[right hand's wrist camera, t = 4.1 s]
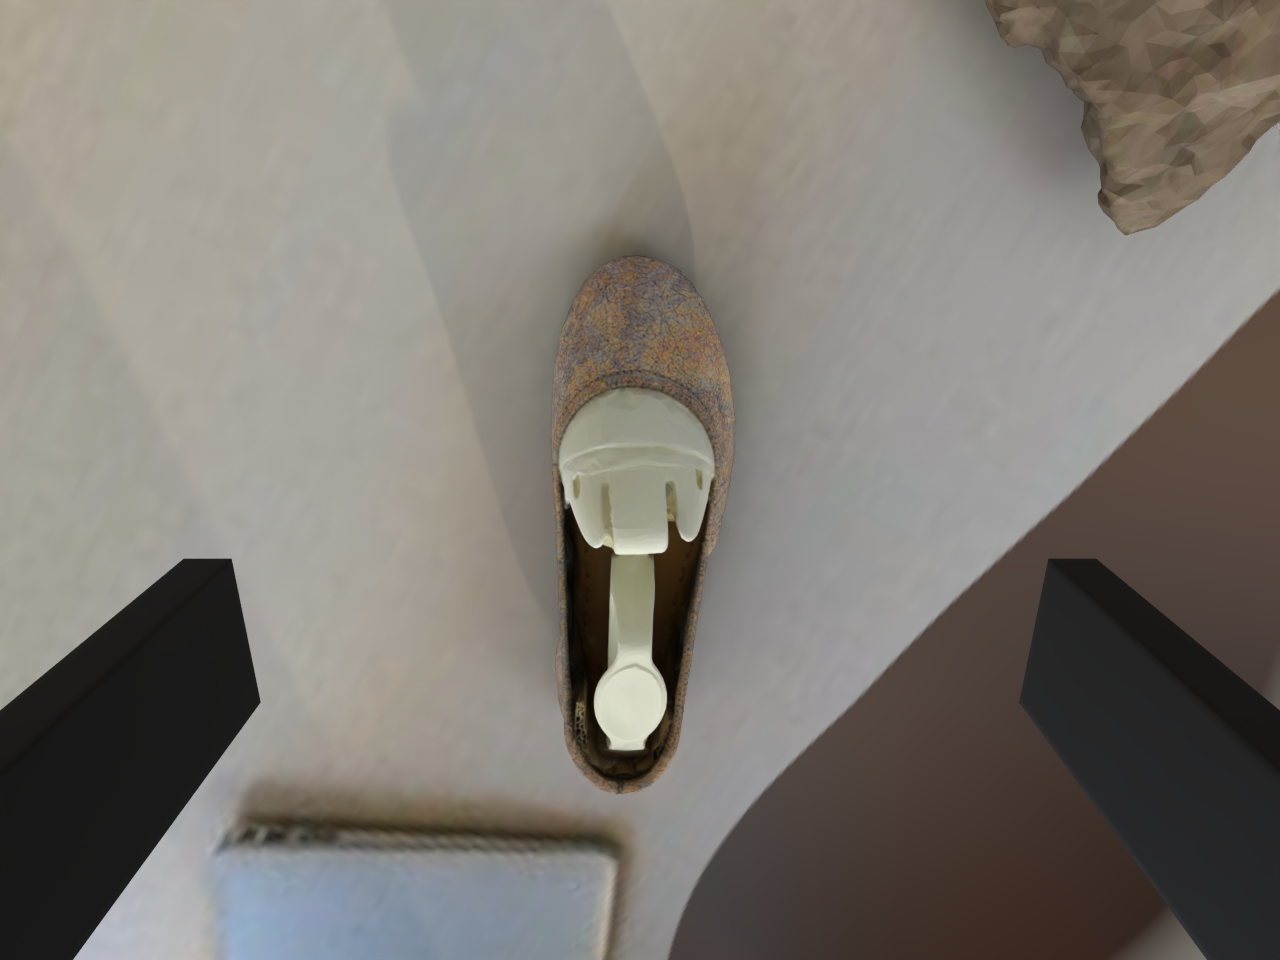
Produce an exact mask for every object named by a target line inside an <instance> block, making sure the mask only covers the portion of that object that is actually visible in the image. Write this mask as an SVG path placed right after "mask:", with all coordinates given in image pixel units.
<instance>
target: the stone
mask: <svg viewBox="0 0 1280 960" xmlns="http://www.w3.org/2000/svg"><path fill="white" fill-rule="evenodd" d="M986 4H987V7H988V9H989V11H990V13H991V15H992V17H993V19H994V21H995V23H996V25H997V28H998V31H999V34H1000V36H1001V38H1002V39H1004V40H1005V41H1006V43H1007V44H1008V45H1009V46H1012V47H1018V46H1022V45H1026V44H1029V45H1032V46H1034V47H1037V48H1040V49H1042V52H1043V55H1044V58H1045V61H1046V63H1048V64H1049V65H1050V66H1052V67H1053V68H1054V69H1055V70H1057V71H1058V72H1059V73H1060V74H1061V76H1062V78H1063V80H1064V82H1065V84H1066V86H1067V87H1068V88H1071V89H1073V93H1074V94H1075V95H1076V96H1077V97H1078V98H1079V99H1081V100H1082V101H1084V102H1085V104H1084V119H1083V122H1082V126H1081V129H1082V132H1083V135H1084V138H1085V141H1086V143H1087V146H1088V149H1089V150H1090V152H1091V153H1092V154H1093V156H1094V157H1095V158H1096V160H1097V161H1098V163H1099V165H1100V168H1101V169H1100V179H1101V187H1102V188H1101V190H1100V191H1099V193H1098V204H1099V205H1100V207H1101V209H1102V210H1103V212H1104V213H1105V214H1106V215H1107V216H1108V217H1110V218H1111V219H1112V220H1113V221H1114V222H1115V224H1116V226H1117V228H1118V229H1119V230H1120V231H1121V232H1122V233H1123V234H1125V235H1129V234H1132V233H1135V232H1138V231H1142V230H1146V229H1150V228H1154V227H1156V226H1158V225H1159V224H1161V223H1162V222H1164V221H1165V220H1167V219H1168V218H1170V217H1171V216H1173V215H1174V214H1176V213H1177V212H1179V211H1180V210H1181V209H1183V208H1184V207H1186V206H1188V205H1189V204H1191V203H1193V202H1195V201H1196V200H1198V199H1199V198H1200V197H1201V196H1202V195H1203V194H1204V193H1205V192H1206V191H1207V190H1208V189H1209V188H1210V187H1211V186H1212V185H1214V184H1215V183H1217V182H1218V181H1220V180H1221V179H1223V178H1224V177H1225V176H1226V175H1227V174H1228V173H1229V172H1230V171H1231V170H1232V169H1233V168H1234V167H1235V166H1236V165H1237V164H1238V163H1239V162H1240V161H1241V160H1242V159H1243V157H1244V156H1245V155H1246V154H1247V153H1248V152H1249V151H1250V150H1251V148H1252V147H1253V145H1254V144H1255V142H1256V140H1257V139H1259V138H1260V137H1261V136H1262V135H1263V134H1264V133H1265V132H1267V131H1268V130H1269V129H1270V128H1271V127H1273V126H1274V125H1276V124H1277V123H1279V122H1280V0H986Z"/></svg>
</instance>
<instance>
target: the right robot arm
mask: <svg viewBox="0 0 1280 960" xmlns="http://www.w3.org/2000/svg"><path fill="white" fill-rule="evenodd" d="M259 704H260V697H259V692H258V687H257V682H256V677H255V672H254V667H253V662H252V657H251V653H250V648H249V643H248V638H247V633H246V628H245V623H244V618H243V613H242V608H241V603H240V598H239V593H238V588H237V583H236V578H235V573H234V569H233V564H232V559H183V560H182V561H181V562H179V563H178V564H177V565H176V566H175V567H173V568H172V569H171V570H170V571H168V572H167V573H166V574H165V575H164V576H162V577H161V578H160V579H159V580H158V581H156V582H155V583H154V584H153V585H152V586H150V587H149V588H148V589H147V590H145V591H144V592H143V593H142V594H141V595H139V596H138V597H137V598H136V599H135V600H133V601H132V602H131V603H130V604H129V605H127V606H126V607H125V608H124V609H122V610H121V611H120V612H119V613H118V614H116V615H115V616H114V617H113V618H112V619H110V620H109V621H108V622H107V623H106V624H104V625H103V626H102V627H101V628H100V629H98V630H97V631H96V632H95V633H93V634H92V635H91V636H90V637H89V638H87V639H86V640H85V641H84V642H83V643H81V644H80V645H79V646H78V647H77V648H75V649H74V650H73V651H72V652H70V653H69V654H68V655H67V656H66V657H64V658H63V659H62V660H61V661H60V662H58V663H57V664H56V665H55V666H54V667H52V668H51V669H50V670H49V671H47V672H46V673H45V674H44V675H43V676H41V677H40V678H39V679H38V680H37V681H35V682H34V683H33V684H32V685H31V686H29V687H28V688H27V689H26V690H24V691H23V692H22V693H21V694H20V695H18V696H17V697H16V698H15V699H14V700H12V701H11V702H10V703H9V704H8V705H6V706H5V707H4V708H3V709H1V710H0V960H73V959H74V958H75V956H76V955H77V953H78V952H79V951H80V949H81V948H82V947H83V945H84V944H85V943H86V941H87V940H88V938H89V937H90V936H91V934H92V933H93V932H94V930H95V929H96V927H97V926H98V925H99V923H100V922H101V921H102V919H103V918H104V916H105V915H106V914H107V912H108V911H109V910H110V908H111V907H112V905H113V904H114V903H115V901H116V900H117V899H118V897H119V896H120V895H121V893H122V892H123V890H124V889H125V888H126V886H127V885H128V884H129V882H130V881H131V879H132V878H133V877H134V875H135V874H136V873H137V871H138V870H139V868H140V867H141V866H142V864H143V863H144V862H145V860H146V859H147V857H148V856H149V855H150V853H151V852H152V851H153V849H154V848H155V846H156V845H157V844H158V842H159V841H160V840H161V838H162V837H163V836H164V834H165V833H166V831H167V830H168V829H169V827H170V826H171V825H172V823H173V822H174V820H175V819H176V818H177V816H178V815H179V814H180V812H181V811H182V809H183V808H184V807H185V805H186V804H187V803H188V801H189V800H190V798H191V797H192V796H193V794H194V793H195V792H196V790H197V789H198V787H199V786H200V785H201V783H202V782H203V781H204V779H205V778H206V777H207V775H208V774H209V772H210V771H211V770H212V768H213V767H214V766H215V764H216V763H217V761H218V760H219V759H220V757H221V756H222V755H223V753H224V752H225V750H226V749H227V748H228V746H229V745H230V744H231V742H232V741H233V739H234V738H235V737H236V735H237V734H238V733H239V731H240V730H241V729H242V727H243V726H244V724H245V723H246V722H247V720H248V719H249V718H250V716H251V715H252V713H253V712H254V711H255V709H256V708H257V707H258V705H259ZM1020 704H1021V705H1022V707H1023V708H1024V709H1025V711H1026V712H1027V713H1028V715H1029V716H1030V717H1031V719H1032V720H1033V722H1034V723H1035V724H1036V726H1037V727H1038V729H1039V730H1040V731H1041V733H1042V734H1043V735H1044V737H1045V738H1046V739H1047V741H1048V742H1049V744H1050V745H1051V746H1052V748H1053V749H1054V750H1055V752H1056V753H1057V755H1058V756H1059V757H1060V759H1061V760H1062V761H1063V763H1064V764H1065V766H1066V767H1067V768H1068V770H1069V771H1070V772H1071V774H1072V775H1073V777H1074V778H1075V779H1076V781H1077V782H1078V783H1079V785H1080V786H1081V787H1082V789H1083V790H1084V792H1085V793H1086V794H1087V796H1088V797H1089V798H1090V800H1091V801H1092V803H1093V804H1094V805H1095V807H1096V808H1097V809H1098V811H1099V812H1100V814H1101V815H1102V816H1103V818H1104V819H1105V820H1106V822H1107V823H1108V825H1109V826H1110V827H1111V829H1112V830H1113V831H1114V833H1115V834H1116V835H1117V837H1118V838H1119V840H1120V841H1121V842H1122V844H1123V845H1124V846H1125V848H1126V849H1127V851H1128V852H1129V853H1130V855H1131V856H1132V857H1133V859H1134V860H1135V862H1136V863H1137V864H1138V866H1139V867H1140V868H1141V870H1142V871H1143V873H1144V874H1145V875H1146V877H1147V878H1148V879H1149V881H1150V882H1151V883H1152V885H1153V886H1154V888H1155V889H1156V890H1157V892H1158V893H1159V895H1160V896H1161V897H1162V899H1163V900H1164V901H1165V903H1166V904H1167V905H1168V907H1169V908H1170V910H1171V911H1172V912H1173V914H1174V915H1175V916H1176V918H1177V919H1178V921H1179V922H1180V923H1181V925H1182V926H1183V927H1184V929H1185V930H1186V931H1187V933H1188V934H1189V936H1190V937H1191V938H1192V940H1193V941H1194V942H1195V944H1196V945H1197V947H1198V948H1199V949H1200V951H1201V952H1202V953H1203V955H1204V956H1205V958H1206V959H1207V960H1280V710H1279V709H1277V708H1276V707H1275V706H1274V705H1272V704H1271V703H1270V702H1269V701H1268V700H1266V699H1265V698H1264V697H1263V696H1262V695H1260V694H1259V693H1258V692H1257V691H1256V690H1254V689H1253V688H1252V687H1251V686H1249V685H1248V684H1247V683H1246V682H1245V681H1243V680H1242V679H1241V678H1240V677H1239V676H1237V675H1236V674H1235V673H1234V672H1233V671H1231V670H1230V669H1229V668H1228V667H1226V666H1225V665H1224V664H1223V663H1222V662H1220V661H1219V660H1218V659H1217V658H1216V657H1214V656H1213V655H1212V654H1211V653H1210V652H1208V651H1207V650H1206V649H1205V648H1203V647H1202V646H1201V645H1200V644H1199V643H1197V642H1196V641H1195V640H1194V639H1192V638H1191V637H1190V636H1189V635H1188V634H1187V633H1185V632H1184V631H1183V630H1182V629H1180V628H1179V627H1178V626H1177V625H1176V624H1174V623H1173V622H1172V621H1171V620H1170V619H1168V618H1167V617H1166V616H1165V615H1164V614H1162V613H1161V612H1160V611H1159V610H1157V609H1156V608H1155V607H1154V606H1153V605H1151V604H1150V603H1149V602H1148V601H1147V600H1145V599H1144V598H1143V597H1142V596H1141V595H1139V594H1138V593H1137V592H1136V591H1135V590H1133V589H1132V588H1131V587H1130V586H1128V585H1127V584H1126V583H1125V582H1124V581H1122V580H1121V579H1120V578H1119V577H1118V576H1116V575H1115V574H1114V573H1113V572H1112V571H1110V570H1109V569H1108V568H1107V567H1105V566H1104V565H1103V564H1102V563H1101V562H1099V561H1098V560H1097V559H1048V564H1047V569H1046V574H1045V579H1044V583H1043V588H1042V593H1041V598H1040V603H1039V608H1038V613H1037V618H1036V623H1035V628H1034V633H1033V638H1032V643H1031V648H1030V653H1029V658H1028V662H1027V667H1026V672H1025V677H1024V682H1023V687H1022V692H1021V697H1020Z"/></svg>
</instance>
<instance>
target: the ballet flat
mask: <svg viewBox="0 0 1280 960" xmlns="http://www.w3.org/2000/svg"><path fill="white" fill-rule="evenodd" d="M734 433H735V415H734V407H733V401H732V394H731V385H730V376H729V370H728V366H727V362H726V358H725V353H724V350H723V347H722V345H721V341H720V338H719V336H718V333H717V331H716V329H715V325H714V323H713V320H712V319H711V316H710V313H709V311H708V309H707V307H706V306H705V304H704V302H703V300H702V299H701V297H700V295H699V293H698V292H697V291H696V289H695V287H694V286H693V285H692V283H691V282H690V281H689V280H688V279H687V278H686V277H685V276H683V275H682V273H681V271H679V270H678V269H676V268H675V267H673V266H671V265H670V264H667V263H665V262H662V261H660V260H657V259H653V258H649V257H644V256H638V255H632V256H623V257H620V258H618V259H615V260H613V261H609V262H607V263H606V264H605V265H603V266H602V267H600V268H599V269H597V270H596V271H595V272H593V273H592V274H591V275H590V276H589V277H588V278H587V280H586V281H585V282H584V283H583V285H582V287H581V288H580V290H579V292H578V294H577V296H576V297H575V299H574V301H573V304H572V306H571V308H570V310H569V313H568V315H567V318H566V321H565V323H564V326H563V328H562V332H561V336H560V339H559V343H558V348H557V352H556V358H555V363H554V370H553V400H552V423H551V436H552V437H551V443H552V474H553V485H554V501H555V509H556V537H557V564H558V585H559V616H560V617H559V623H560V639H559V644H558V648H557V652H556V672H557V684H558V695H559V703H560V707H561V711H562V714H563V717H564V734H565V741H566V745H567V749H568V751H569V754H570V756H571V758H572V760H573V762H574V764H575V766H576V767H577V769H578V770H579V771H580V773H581V774H582V775H583V776H584V777H585V778H586V779H587V780H588V781H590V782H591V783H592V784H593V785H594V786H596V787H597V788H599V789H601V790H603V791H606V792H610V793H614V794H630V793H635V792H638V791H641V790H644V789H645V788H647V787H649V786H651V785H652V784H653V783H654V782H655V781H656V780H657V779H658V778H659V777H660V776H661V775H662V773H663V772H664V771H665V770H666V769H667V767H668V766H669V764H670V763H671V761H672V759H673V757H674V755H675V753H676V750H677V747H678V742H679V738H680V732H681V724H682V718H683V710H684V702H685V695H686V689H687V684H688V677H689V671H690V666H691V659H692V651H693V645H694V638H695V632H696V625H697V619H698V613H699V606H700V601H701V594H702V586H703V581H704V575H705V570H706V564H707V559H708V556H709V555H710V553H711V552H712V551H713V548H714V547H715V545H716V543H717V540H718V537H719V532H720V528H721V522H722V516H723V512H724V508H725V504H726V500H727V496H728V491H729V485H730V478H731V472H732V465H733V456H734Z"/></svg>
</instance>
